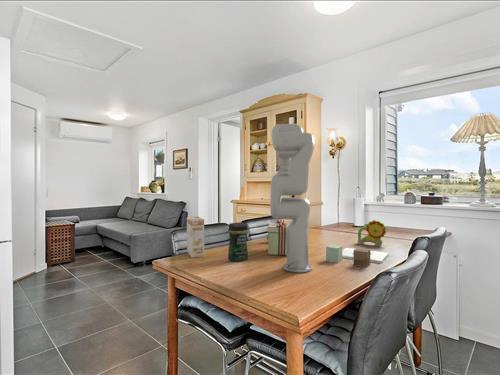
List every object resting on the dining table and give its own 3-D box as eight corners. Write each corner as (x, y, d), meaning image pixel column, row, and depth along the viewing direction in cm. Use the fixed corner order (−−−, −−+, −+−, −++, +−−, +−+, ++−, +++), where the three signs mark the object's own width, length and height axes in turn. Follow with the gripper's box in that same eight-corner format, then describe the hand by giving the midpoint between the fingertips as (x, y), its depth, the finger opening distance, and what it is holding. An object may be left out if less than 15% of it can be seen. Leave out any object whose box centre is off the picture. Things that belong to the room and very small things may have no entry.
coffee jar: (232, 263, 138) (232, 224, 138) (226, 259, 145) (225, 222, 145) (250, 260, 143) (250, 222, 143) (243, 256, 150) (242, 220, 150)
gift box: (303, 255, 151) (303, 222, 151) (267, 255, 151) (267, 223, 151) (298, 248, 168) (298, 218, 168) (266, 248, 168) (266, 218, 168)
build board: (381, 263, 135) (381, 260, 135) (335, 256, 148) (335, 254, 148) (388, 255, 150) (388, 252, 150) (346, 249, 163) (346, 247, 163)
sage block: (338, 263, 137) (338, 248, 137) (326, 261, 141) (326, 246, 140) (342, 260, 142) (342, 246, 142) (330, 258, 145) (330, 244, 145)
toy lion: (357, 244, 177) (357, 219, 176) (359, 242, 181) (359, 218, 181) (385, 247, 168) (385, 221, 168) (386, 245, 173) (386, 220, 172)
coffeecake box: (205, 256, 151) (204, 219, 150) (191, 258, 148) (190, 220, 148) (199, 250, 165) (198, 216, 164) (186, 251, 162) (186, 216, 162)
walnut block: (367, 267, 130) (367, 252, 129) (353, 265, 133) (353, 250, 133) (370, 264, 134) (370, 249, 134) (357, 262, 138) (357, 247, 138)
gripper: (272, 167, 164) (272, 198, 164) (301, 167, 167) (301, 197, 167) (268, 168, 171) (269, 197, 171) (296, 168, 174) (297, 197, 174)
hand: (285, 197), depth 169 cm, fingers open, 9 cm apart
